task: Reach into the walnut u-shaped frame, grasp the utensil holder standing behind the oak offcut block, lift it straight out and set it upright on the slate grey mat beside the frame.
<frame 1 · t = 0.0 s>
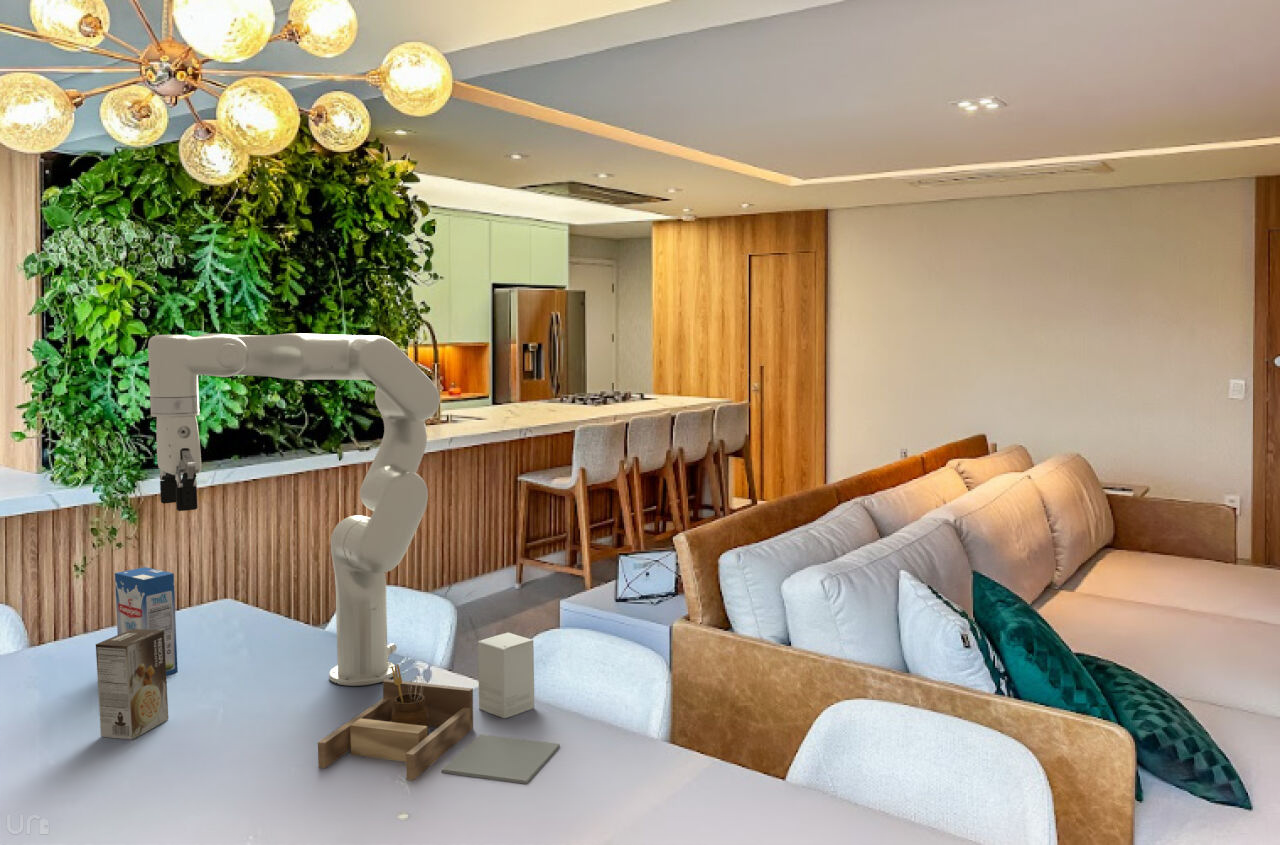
hand: (178, 506, 171), 37 cm above the table, tool pointing down, fingers open, 9 cm apart
supplement box: (506, 709, 178), on the table
coffee box: (135, 729, 169), on the table
oak offcut block: (389, 756, 158), on the table
utensil holder: (409, 740, 164), resting in walnut u-shaped frame
milk carton: (148, 673, 197), on the table
slate mat: (502, 759, 157), on the table
walnut u-shaped frame: (397, 748, 161), on the table
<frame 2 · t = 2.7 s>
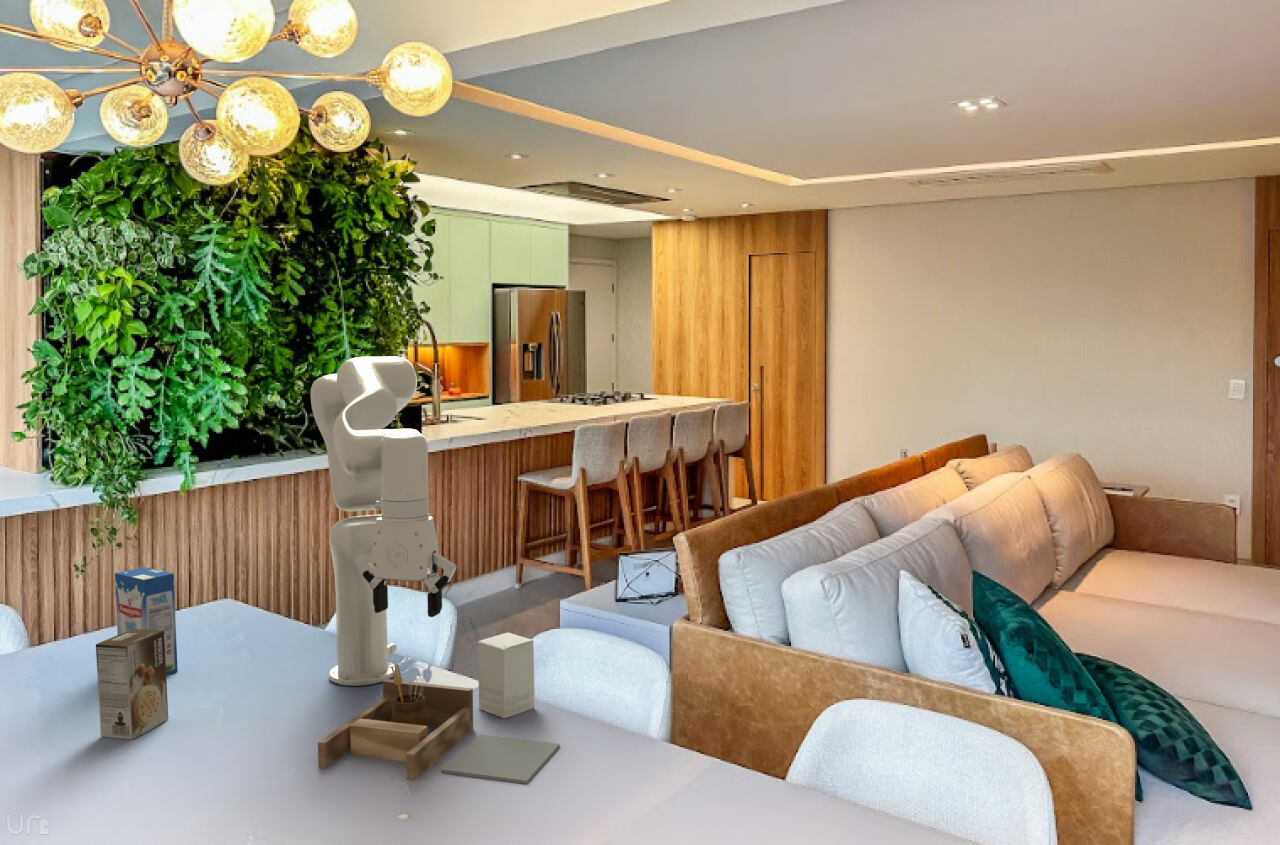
hand: (407, 612, 162), 21 cm above the table, tool pointing down, fingers open, 9 cm apart
nothing on the table moved.
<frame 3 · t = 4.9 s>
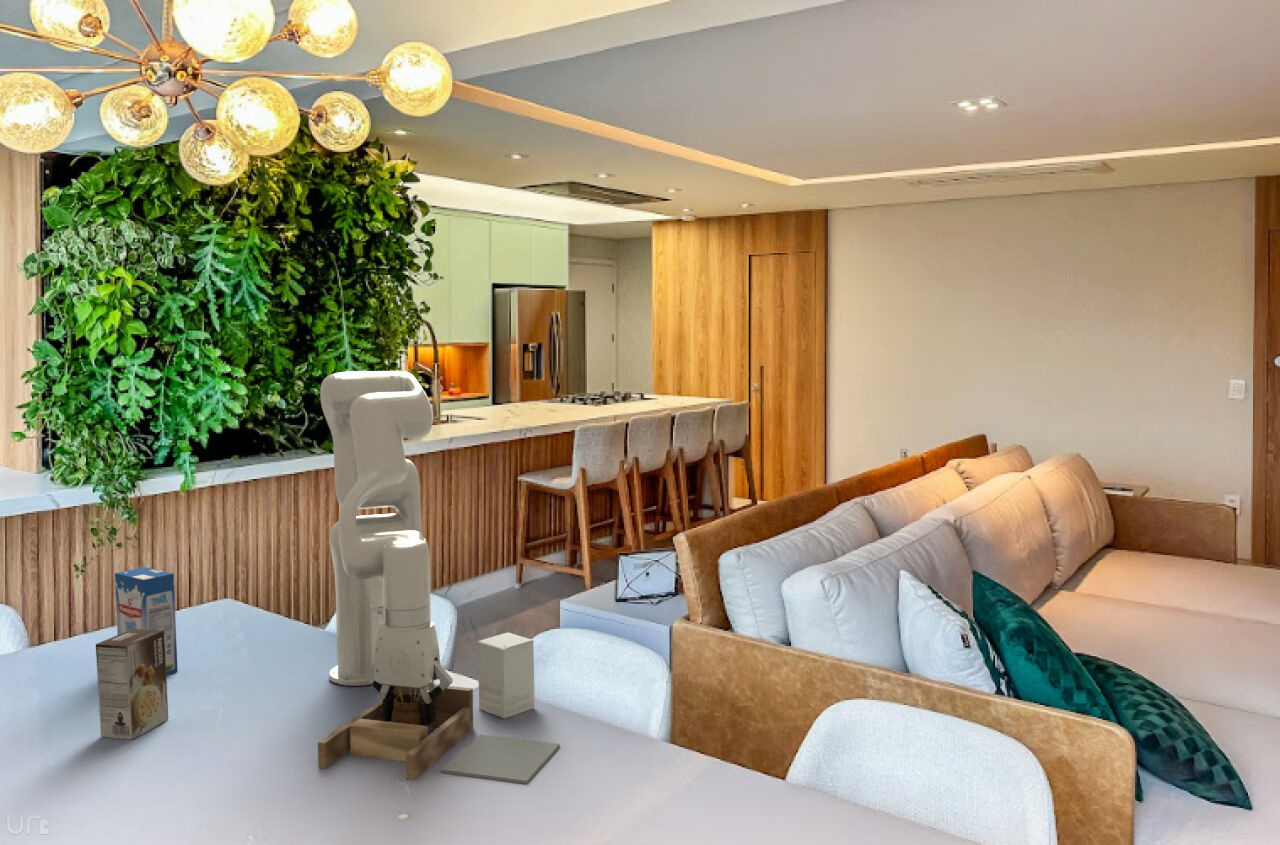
hand: (409, 720, 164), 3 cm above the table, tool pointing down, fingers open, 6 cm apart
utensil holder: (409, 740, 164), resting in walnut u-shaped frame, touching gripper
everything else where it was.
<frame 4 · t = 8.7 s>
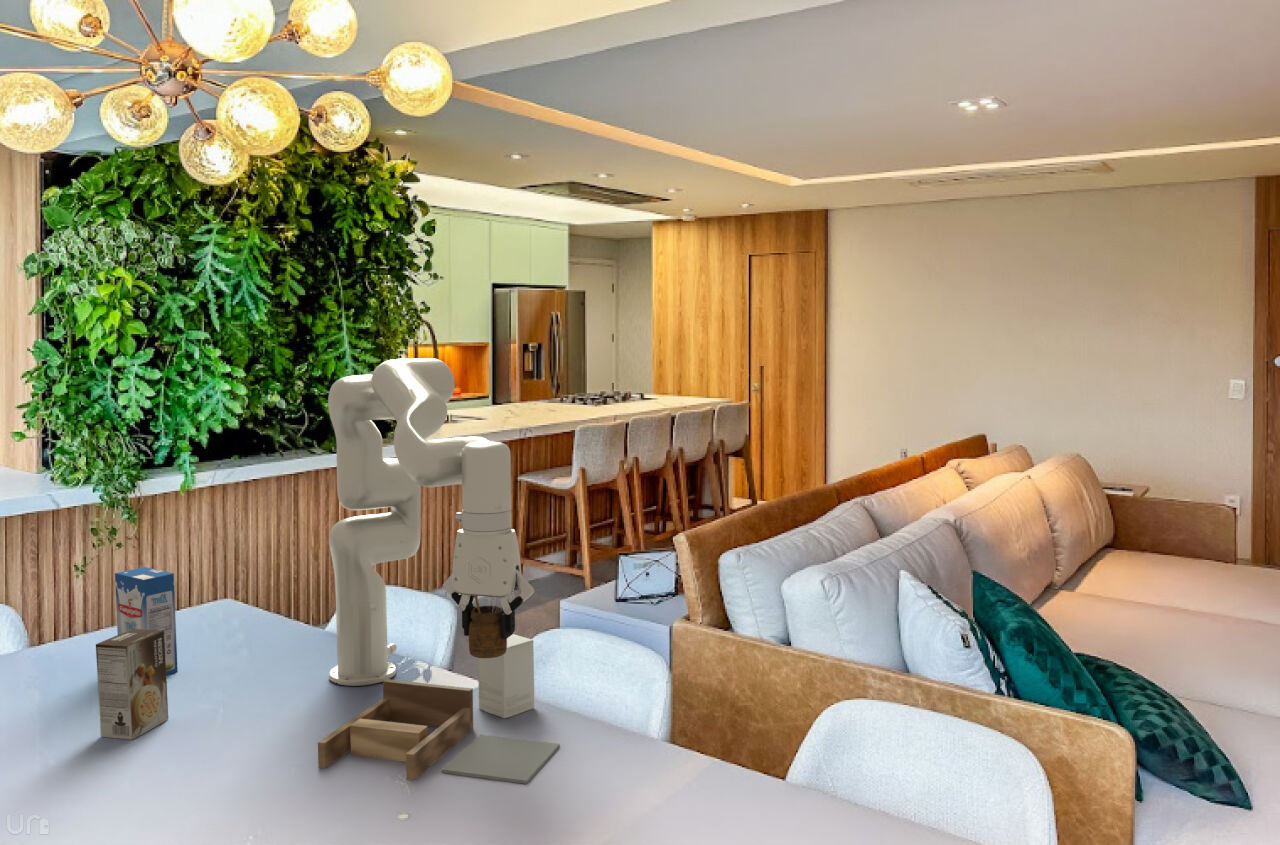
hand: (488, 634, 156), 20 cm above the table, tool pointing down, fingers closed on utensil holder, 5 cm apart
utensil holder: (487, 654, 156), point 17 cm above the table, touching gripper
everything else where it was.
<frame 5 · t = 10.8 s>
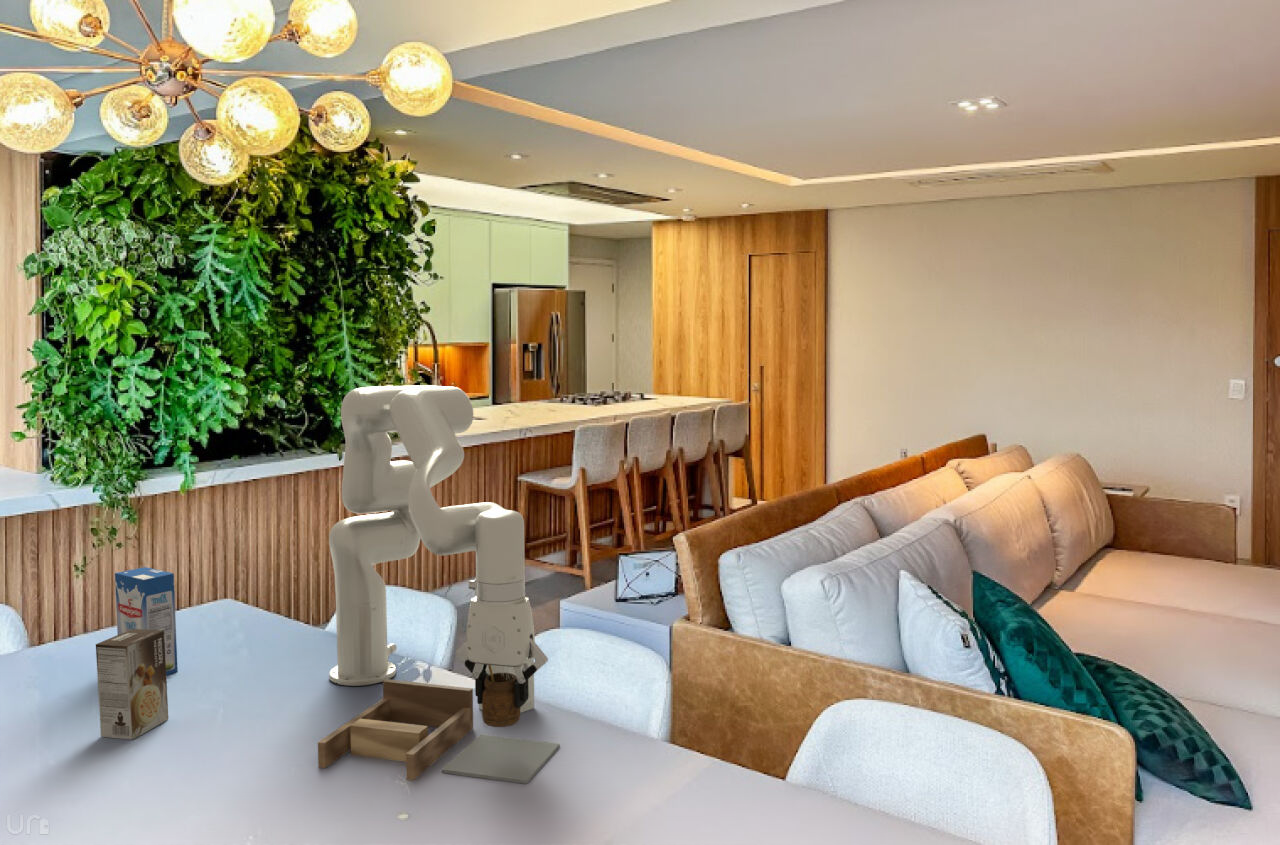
hand: (502, 702, 156), 9 cm above the table, tool pointing down, fingers closed on utensil holder, 5 cm apart
utensil holder: (500, 722, 156), point 6 cm above the table, touching gripper
everything else where it was.
when the fingers open (5 cm above the table, at t = 12.2 s): utensil holder drops 1 cm, resting on slate mat.
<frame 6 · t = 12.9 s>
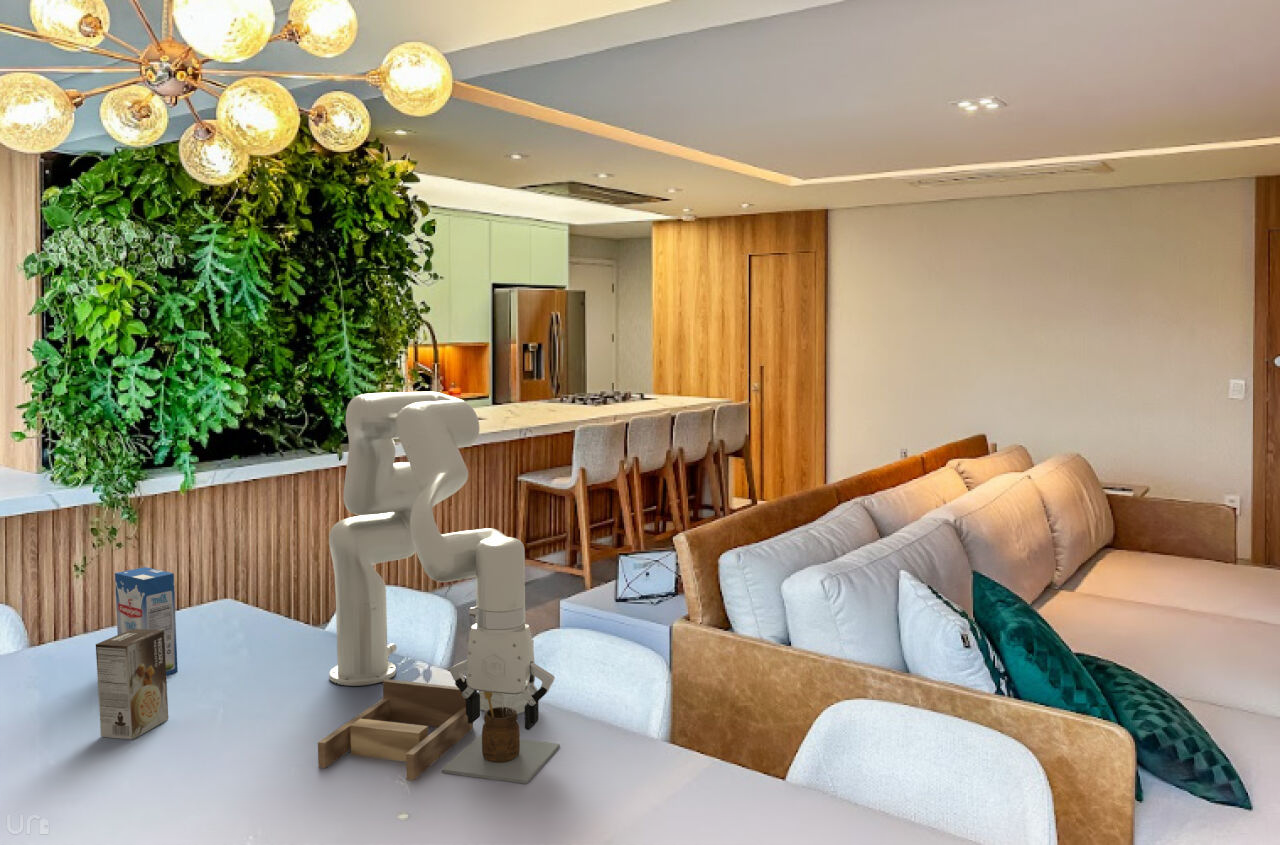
hand: (502, 723, 156), 6 cm above the table, tool pointing down, fingers open, 9 cm apart
utensil holder: (500, 756, 157), resting on slate mat
everything else where it was.
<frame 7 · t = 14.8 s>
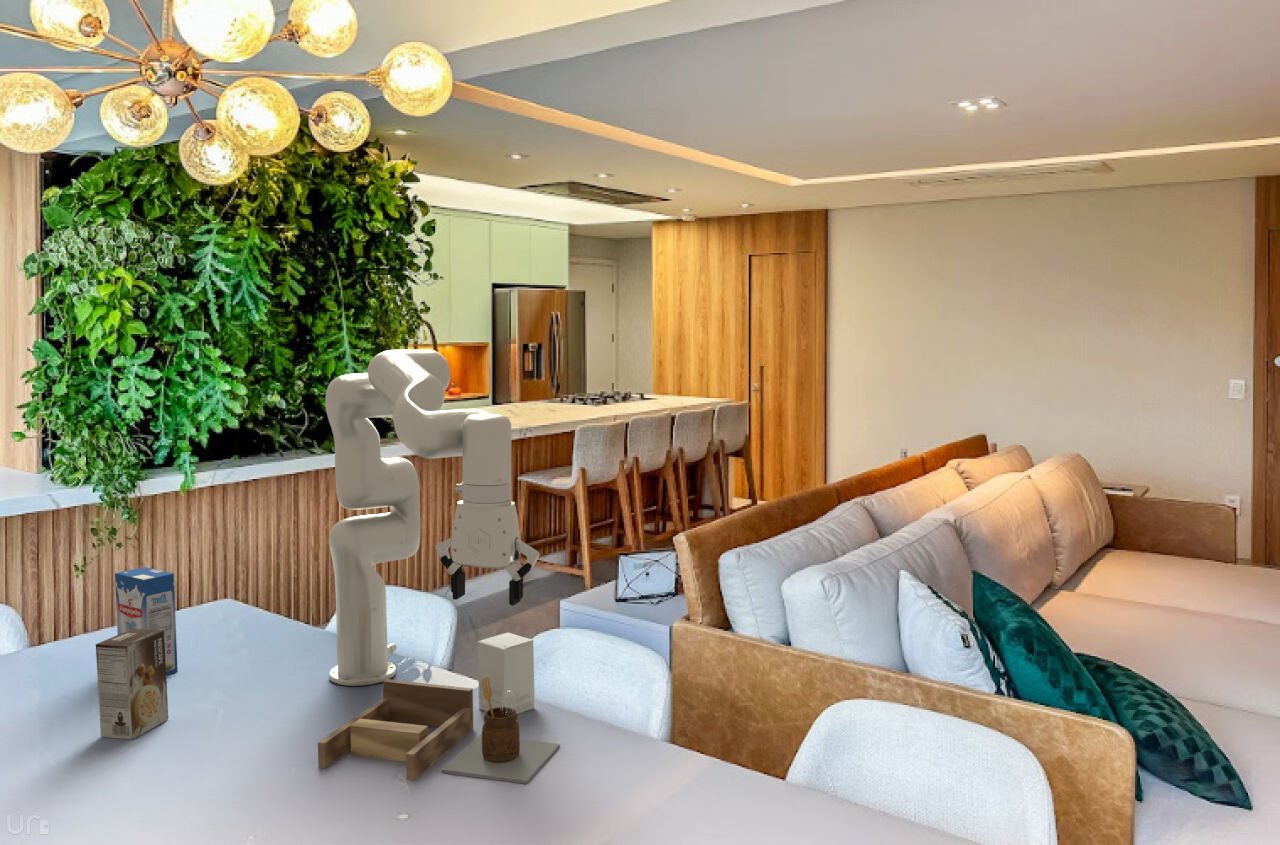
hand: (486, 600, 157), 25 cm above the table, tool pointing down, fingers open, 9 cm apart
nothing on the table moved.
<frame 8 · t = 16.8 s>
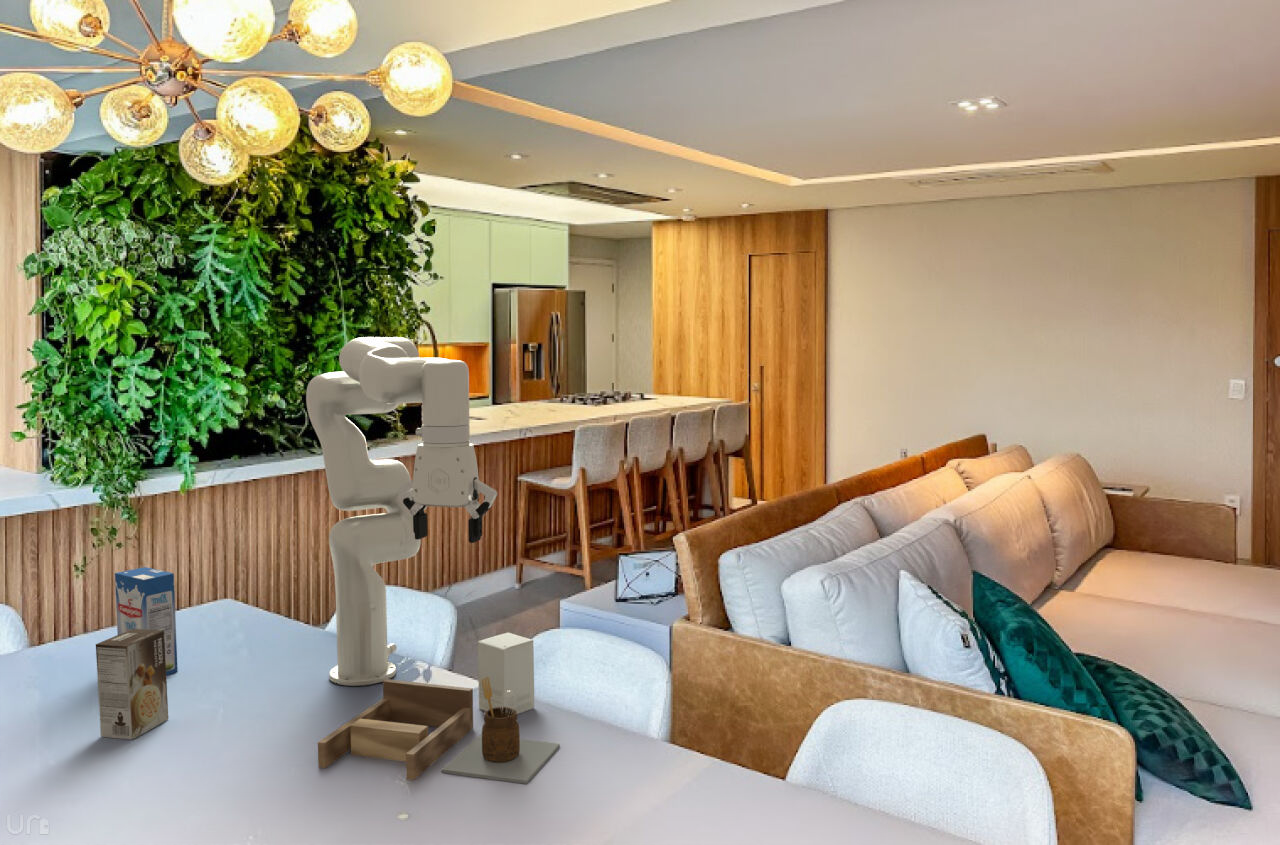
hand: (447, 539, 163), 33 cm above the table, tool pointing down, fingers open, 9 cm apart
nothing on the table moved.
at the end: utensil holder inside the target area on the slate mat (0.4 cm from its centre), point 0.3 cm above the slate mat's base; utensil holder tilted 0°; oak offcut block moved 0.2 cm from its start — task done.
